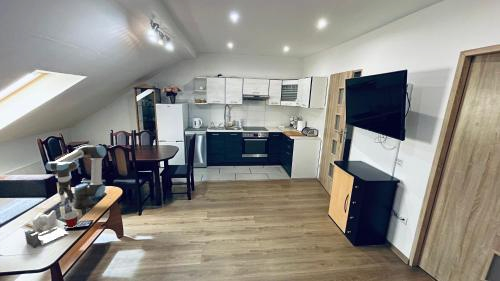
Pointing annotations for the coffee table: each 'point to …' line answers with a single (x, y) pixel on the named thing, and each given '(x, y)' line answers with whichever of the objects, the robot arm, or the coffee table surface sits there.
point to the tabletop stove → (43, 236)
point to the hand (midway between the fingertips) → (67, 203)
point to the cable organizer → (44, 220)
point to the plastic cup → (71, 218)
